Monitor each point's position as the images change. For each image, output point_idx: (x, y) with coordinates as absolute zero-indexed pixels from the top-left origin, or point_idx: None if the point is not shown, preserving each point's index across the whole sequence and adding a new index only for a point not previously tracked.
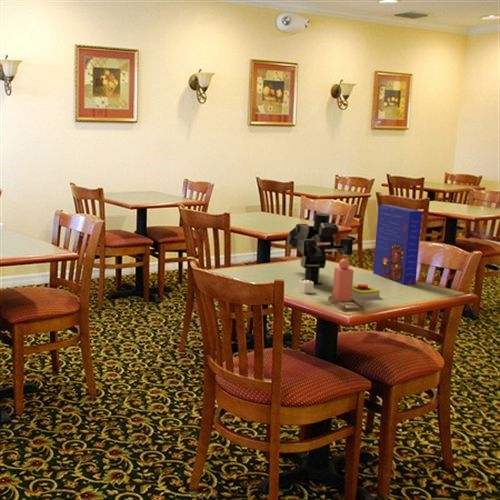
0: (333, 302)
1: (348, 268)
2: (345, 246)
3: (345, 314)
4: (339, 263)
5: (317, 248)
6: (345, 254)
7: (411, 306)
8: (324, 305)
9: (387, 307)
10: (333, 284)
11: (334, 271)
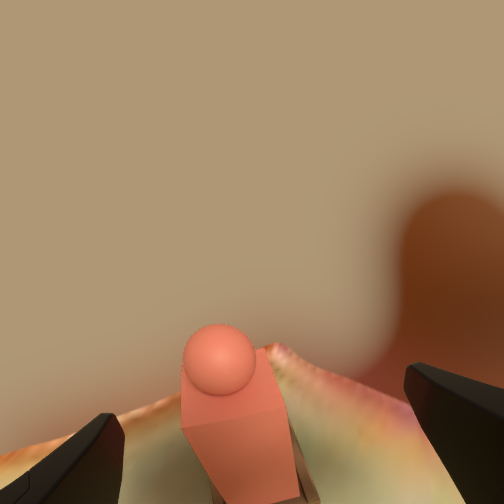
0: (301, 453)
1: (190, 400)
2: (23, 491)
3: (276, 369)
4: (254, 350)
5: (496, 390)
6: (122, 456)
7: (38, 447)
8: (339, 437)
9: None
10: (294, 465)
11: (287, 421)
